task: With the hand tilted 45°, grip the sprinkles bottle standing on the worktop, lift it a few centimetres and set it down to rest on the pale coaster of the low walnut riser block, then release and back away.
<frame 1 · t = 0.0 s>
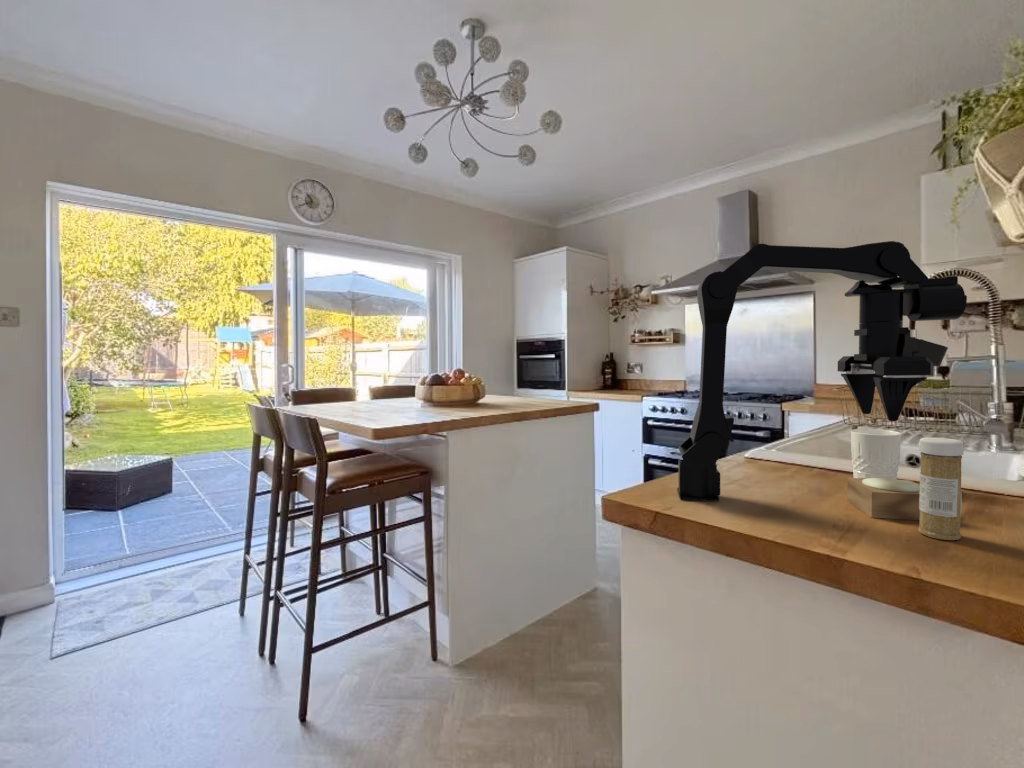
hand: (879, 417, 81), 15 cm above the countertop, tool pointing down, fingers open, 9 cm apart
riser: (890, 510, 79), on the countertop
sprinkles bottle: (938, 536, 68), on the countertop
white cup: (874, 484, 95), on the countertop
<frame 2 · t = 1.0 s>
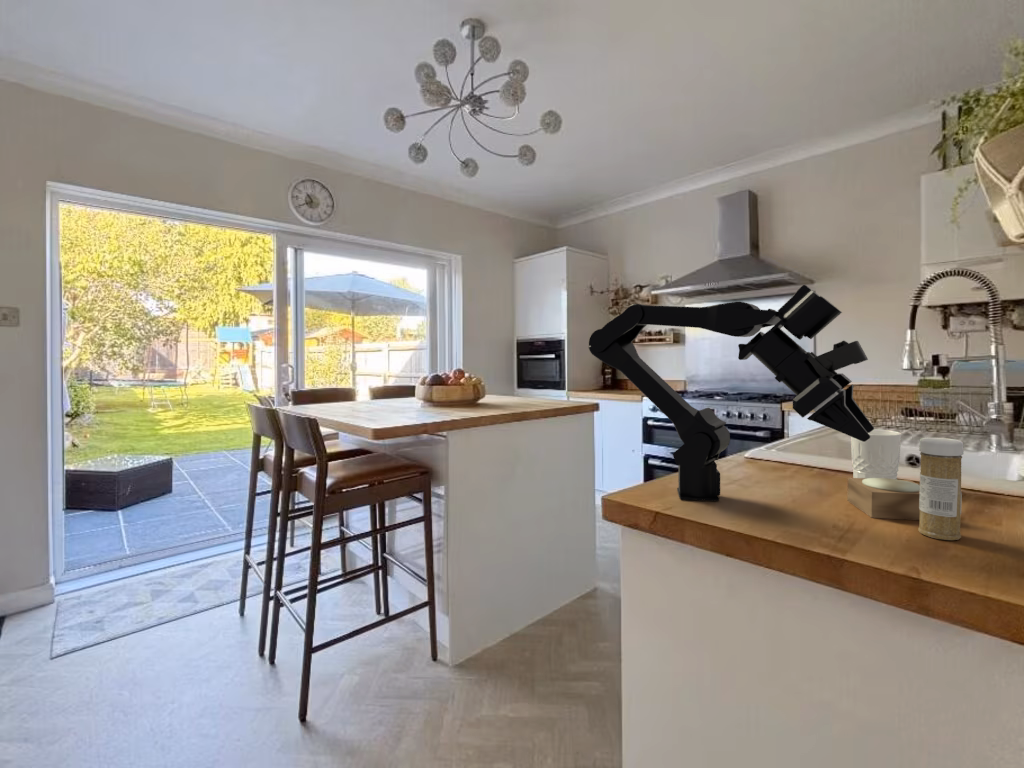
hand: (869, 435, 72), 13 cm above the countertop, tool tilted 45°, fingers open, 9 cm apart
nothing on the countertop moved.
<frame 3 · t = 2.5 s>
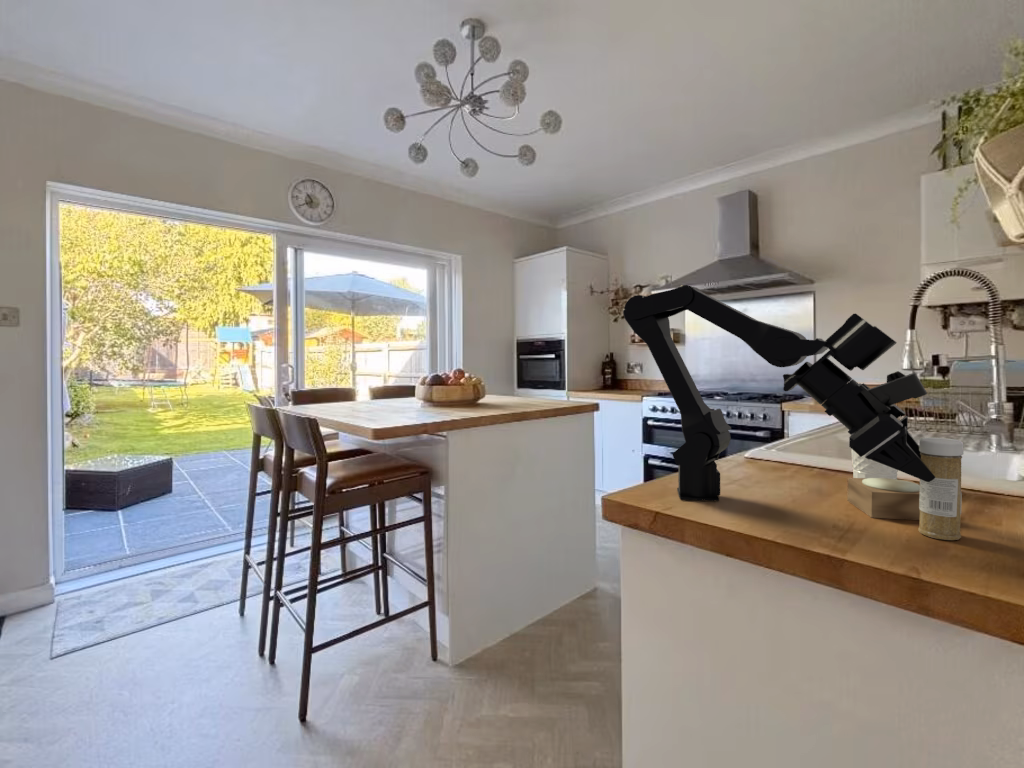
hand: (931, 473, 68), 9 cm above the countertop, tool tilted 45°, fingers open, 9 cm apart
nothing on the countertop moved.
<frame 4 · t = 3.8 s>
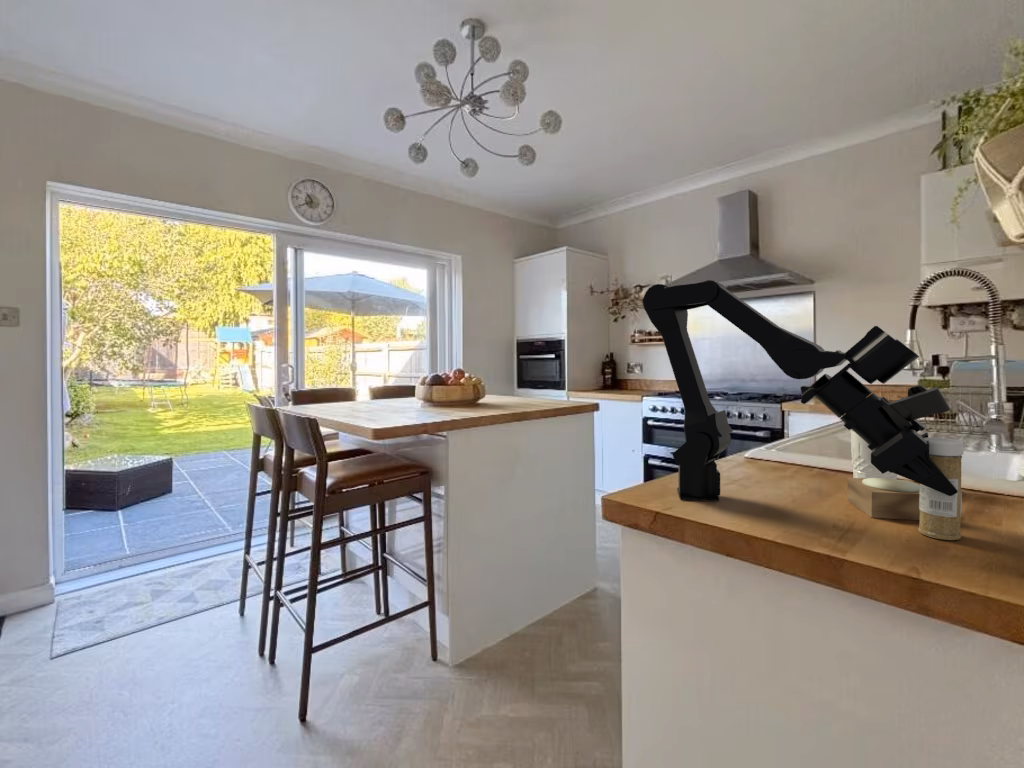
hand: (953, 490, 67), 7 cm above the countertop, tool tilted 45°, fingers closed on sprinkles bottle, 4 cm apart
sprinkles bottle: (938, 536, 68), on the countertop, touching gripper
everything else where it was.
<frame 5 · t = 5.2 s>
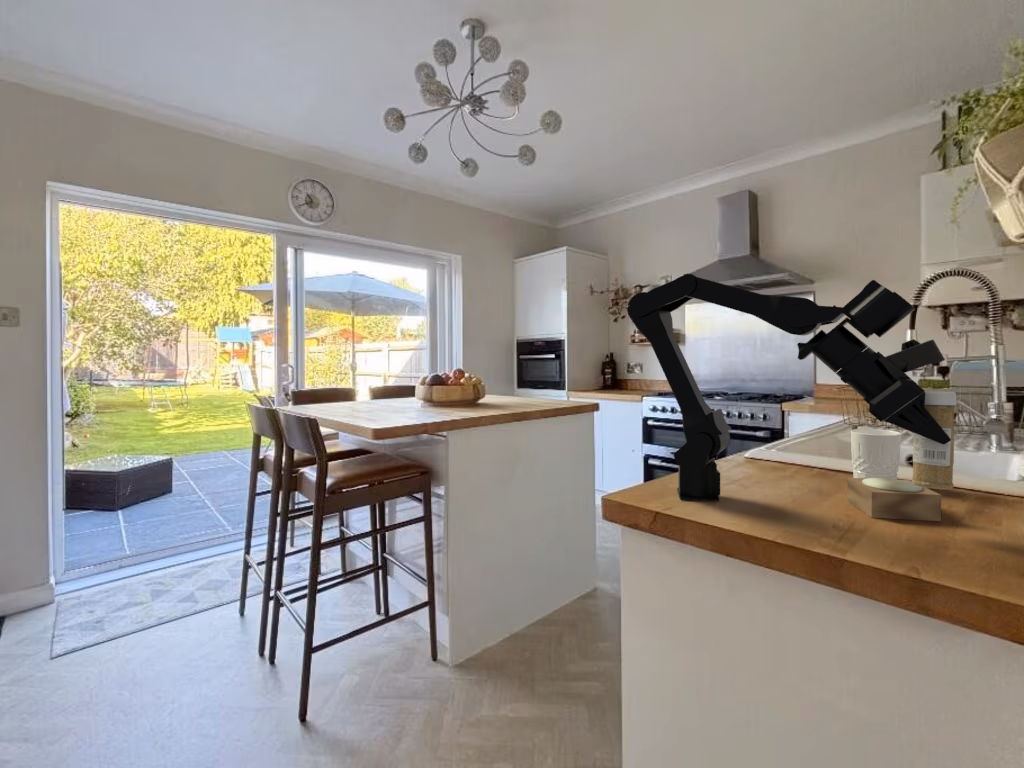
hand: (945, 439, 68), 13 cm above the countertop, tool tilted 45°, fingers closed on sprinkles bottle, 4 cm apart
sprinkles bottle: (931, 487, 69), point 6 cm above the countertop, touching gripper
everything else where it was.
when the fingers open (12 cm above the countertop, at t = 6.5 s): sprinkles bottle stays where it is, resting on riser.
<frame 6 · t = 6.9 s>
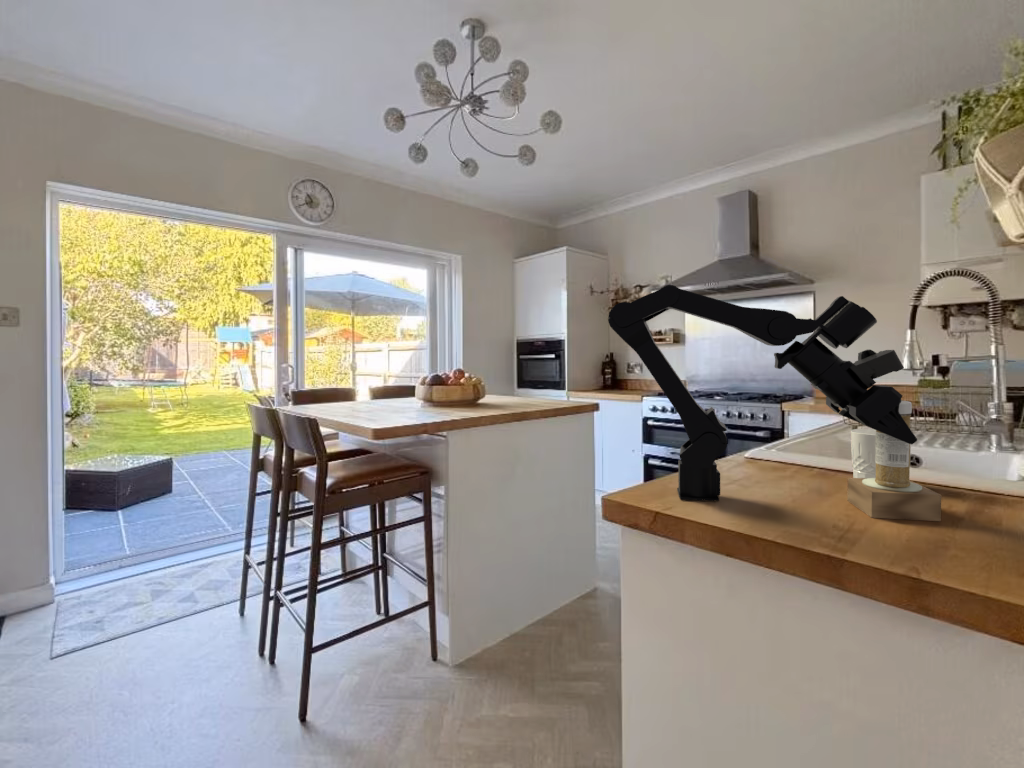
hand: (902, 437, 77), 12 cm above the countertop, tool tilted 45°, fingers open, 8 cm apart
sprinkles bottle: (891, 486, 78), point 4 cm above the countertop, touching riser
everything else where it was.
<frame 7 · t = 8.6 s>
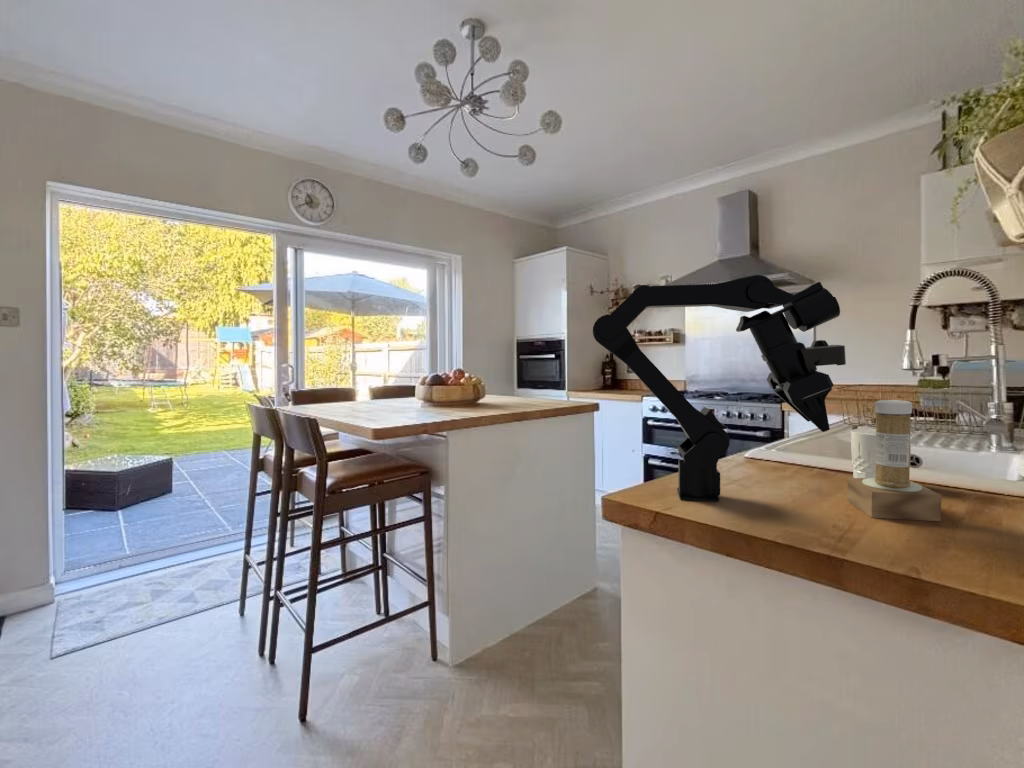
hand: (818, 425, 84), 13 cm above the countertop, tool tilted 25°, fingers open, 9 cm apart
nothing on the countertop moved.
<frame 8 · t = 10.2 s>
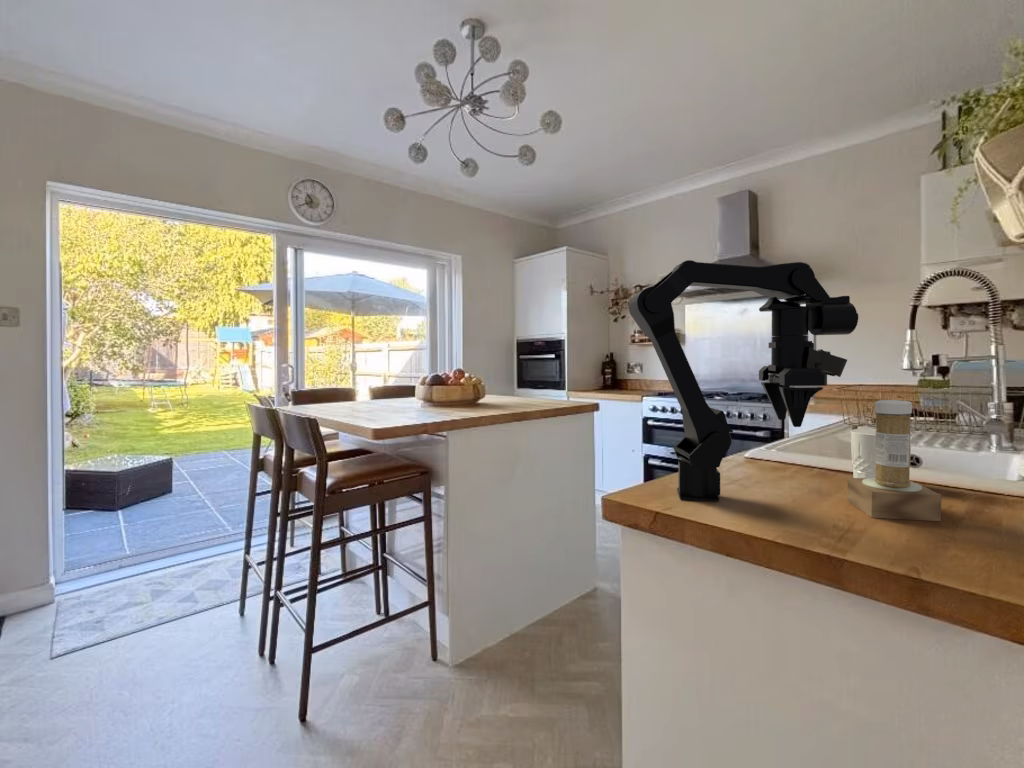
hand: (789, 423, 88), 13 cm above the countertop, tool pointing down, fingers open, 9 cm apart
nothing on the countertop moved.
at the end: sprinkles bottle inside the target area on the riser (0.6 cm from its centre), point 4.1 cm above the riser's base; sprinkles bottle tilted 0°; the gripper is holding nothing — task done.
